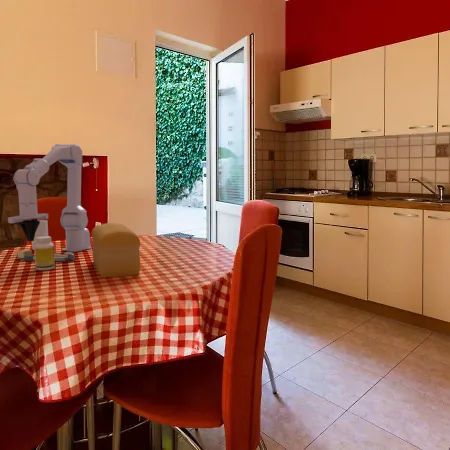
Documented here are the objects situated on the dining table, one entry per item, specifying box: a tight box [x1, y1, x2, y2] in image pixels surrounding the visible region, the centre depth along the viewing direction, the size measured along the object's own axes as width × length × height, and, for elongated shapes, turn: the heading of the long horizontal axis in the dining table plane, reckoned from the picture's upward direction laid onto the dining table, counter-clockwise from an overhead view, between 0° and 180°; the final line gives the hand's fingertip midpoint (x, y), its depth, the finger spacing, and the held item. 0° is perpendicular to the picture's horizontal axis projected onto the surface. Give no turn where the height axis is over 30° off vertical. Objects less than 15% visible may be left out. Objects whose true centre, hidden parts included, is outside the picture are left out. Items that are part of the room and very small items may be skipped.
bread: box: [91, 222, 141, 279], centre depth 139 cm, size 24×13×15 cm, turn 25°
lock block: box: [17, 248, 33, 258], centre depth 152 cm, size 4×4×2 cm
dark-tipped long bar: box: [54, 252, 76, 263], centre depth 153 cm, size 3×18×2 cm, turn 61°
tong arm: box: [23, 251, 74, 262], centre depth 148 cm, size 3×17×3 cm, turn 86°
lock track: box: [17, 257, 35, 262], centre depth 151 cm, size 4×8×1 cm, turn 62°
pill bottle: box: [33, 235, 56, 271], centre depth 136 cm, size 6×6×11 cm
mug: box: [31, 219, 49, 251], centre depth 171 cm, size 10×7×12 cm, turn 4°
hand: (30, 240), depth 143 cm, fingers closed
